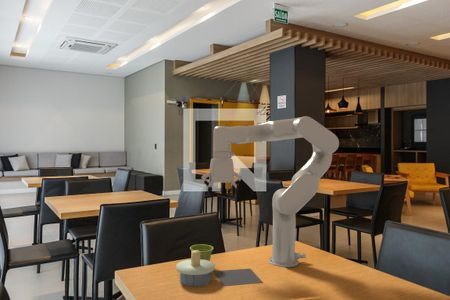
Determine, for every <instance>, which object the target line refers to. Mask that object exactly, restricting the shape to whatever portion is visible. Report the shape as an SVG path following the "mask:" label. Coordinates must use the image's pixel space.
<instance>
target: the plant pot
mask: <svg viewBox="0 0 450 300" xmlns="http://www.w3.org/2000/svg"><path fill="white" fill-rule="evenodd" d="M189 250H190V251H194V250H198V251H200V259H203V260H208V261H211V256H212V252H213V251H214V246H212V245H209V244H203V243H201V244H193V245H191V246H190V247H189Z"/></svg>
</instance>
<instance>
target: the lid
mask: <svg viewBox="0 0 450 300" xmlns="http://www.w3.org/2000/svg"><path fill="white" fill-rule="evenodd" d="M190 251H191V250H190ZM190 255H191V256H190V258H191V259H186V260H182V261H179V262H177V263H176V265H175V267H176V268H175V269H176V272H178V273H179V274H180V273H182V274H187V275H202V274H207V273H210V272H211V273H212V272H214V271H215V268H216V265H215V263H214V262H212V261H211V260H210V261H208V260H203V259H200V251H198V250H194V251H191V254H190Z"/></svg>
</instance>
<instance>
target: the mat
mask: <svg viewBox="0 0 450 300" xmlns="http://www.w3.org/2000/svg"><path fill="white" fill-rule="evenodd" d="M213 273H214V274H215V276H216V278H217V279H218V281H219V282H220V284H221V286H222V287H231V286H232V287H233V286H242V285H253V284H254V285H255V284H263V283H264V282H263V280H261V278H260V277H259V276H258V275H257V274H256V273H255V272H254V271H253V269H251V268H236V269H224V270H214V271H213Z"/></svg>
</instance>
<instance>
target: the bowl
mask: <svg viewBox="0 0 450 300" xmlns="http://www.w3.org/2000/svg"><path fill="white" fill-rule="evenodd" d="M211 281H212V272H210V273H207V274H202V275H187V274H182V273H180V272H179V282H180V284H181V285H184V286H187V287H202V286H205V285H208V284H209V283H210V282H211Z"/></svg>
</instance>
